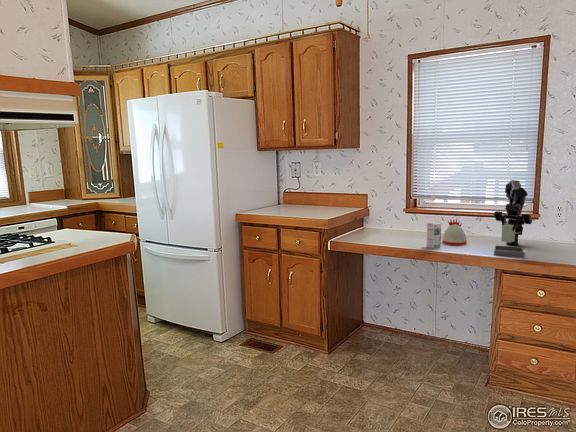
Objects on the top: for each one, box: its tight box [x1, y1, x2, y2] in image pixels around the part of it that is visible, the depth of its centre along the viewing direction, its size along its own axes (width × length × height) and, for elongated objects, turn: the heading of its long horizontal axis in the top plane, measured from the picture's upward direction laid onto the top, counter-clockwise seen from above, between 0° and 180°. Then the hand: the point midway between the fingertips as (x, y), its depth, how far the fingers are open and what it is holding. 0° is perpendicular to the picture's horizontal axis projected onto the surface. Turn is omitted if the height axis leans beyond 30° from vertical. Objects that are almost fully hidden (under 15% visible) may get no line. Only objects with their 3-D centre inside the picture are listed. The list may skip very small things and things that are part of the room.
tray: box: [493, 244, 524, 258], centre depth 246 cm, size 14×14×2 cm
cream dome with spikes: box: [442, 218, 468, 246], centre depth 274 cm, size 14×14×15 cm
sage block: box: [501, 223, 516, 243], centre depth 245 cm, size 5×5×9 cm
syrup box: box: [426, 221, 442, 249], centre depth 265 cm, size 6×6×14 cm
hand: (507, 229), depth 243 cm, fingers closed on sage block, 5 cm apart
